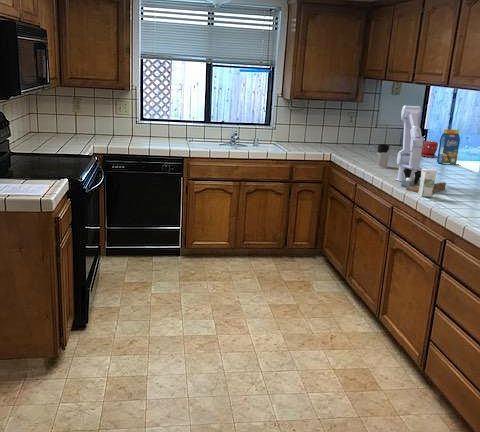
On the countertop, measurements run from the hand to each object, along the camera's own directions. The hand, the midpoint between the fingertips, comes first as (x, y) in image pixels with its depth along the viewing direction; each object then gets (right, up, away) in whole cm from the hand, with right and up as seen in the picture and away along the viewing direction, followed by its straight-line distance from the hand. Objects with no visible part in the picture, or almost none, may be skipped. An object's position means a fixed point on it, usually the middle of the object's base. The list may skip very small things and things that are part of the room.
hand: (411, 182), depth 294 cm
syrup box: (0, -8, -22) cm, 23 cm away
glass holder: (-4, +15, +60) cm, 62 cm away
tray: (0, -2, +1) cm, 2 cm away
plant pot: (+51, +28, +115) cm, 129 cm away
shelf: (+6, -4, -7) cm, 10 cm away
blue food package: (+54, +19, +86) cm, 103 cm away
